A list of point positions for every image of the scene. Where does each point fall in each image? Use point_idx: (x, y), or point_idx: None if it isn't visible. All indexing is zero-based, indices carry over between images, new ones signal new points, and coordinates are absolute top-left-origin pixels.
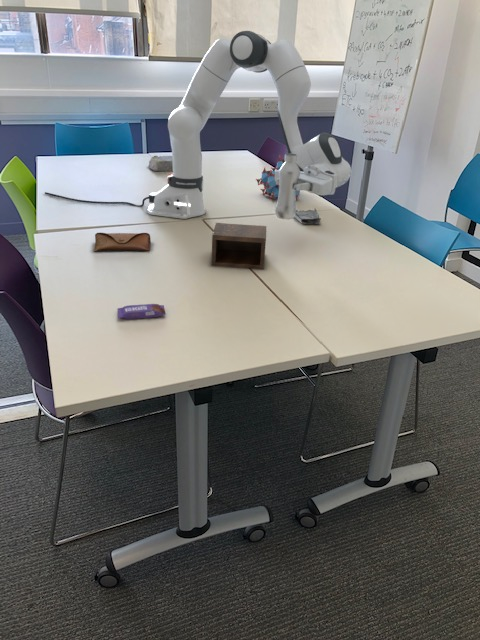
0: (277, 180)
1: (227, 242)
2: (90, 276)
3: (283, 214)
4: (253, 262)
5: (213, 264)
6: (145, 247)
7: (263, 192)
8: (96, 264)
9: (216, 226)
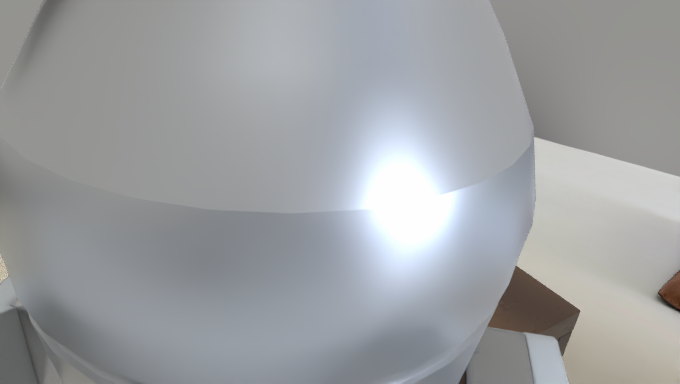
0: (515, 340)
1: None
2: (550, 174)
3: None
4: None
5: None
6: (672, 285)
7: None
8: (613, 203)
9: (525, 278)
